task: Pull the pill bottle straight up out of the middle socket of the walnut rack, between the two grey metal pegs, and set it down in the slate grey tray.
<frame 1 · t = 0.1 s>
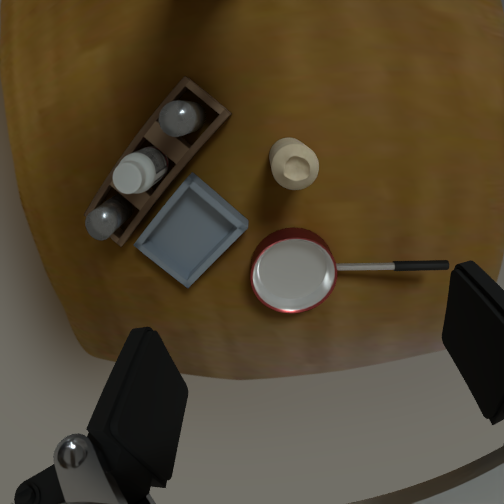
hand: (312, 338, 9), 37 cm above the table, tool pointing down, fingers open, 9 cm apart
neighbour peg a: (190, 116, 40), resting in socket rack
candle: (288, 156, 43), on the table
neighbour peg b: (120, 207, 46), resting in socket rack
pill bottle: (152, 163, 43), resting in socket rack
tray: (191, 228, 48), on the table
frying pan: (348, 253, 49), on the table
socket rack: (152, 163, 43), on the table
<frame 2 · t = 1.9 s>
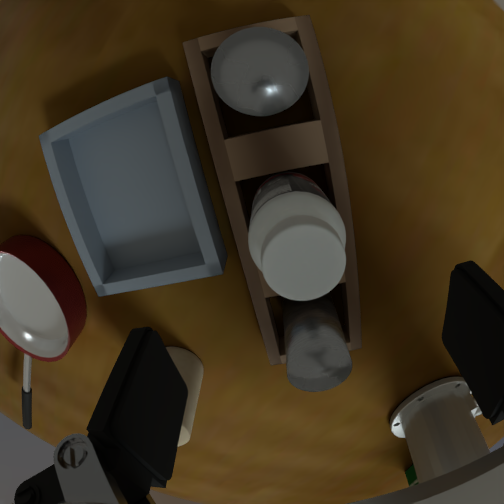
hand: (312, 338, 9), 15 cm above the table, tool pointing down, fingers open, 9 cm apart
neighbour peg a: (307, 304, 27), resting in socket rack
candle: (178, 363, 31), on the table
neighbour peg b: (261, 86, 19), resting in socket rack
pill bottle: (288, 204, 23), resting in socket rack
tray: (137, 189, 23), on the table
frying pan: (44, 345, 32), on the table
socket rack: (288, 205, 23), on the table
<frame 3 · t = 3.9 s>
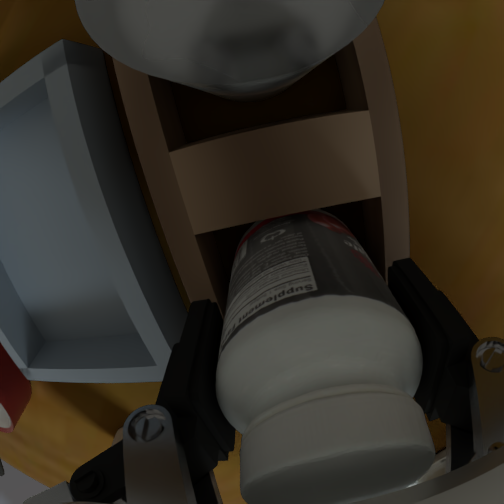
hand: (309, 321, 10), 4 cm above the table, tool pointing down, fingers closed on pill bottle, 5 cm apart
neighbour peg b: (247, 47, 10), resting in socket rack
pill bottle: (296, 260, 13), resting in socket rack, touching gripper
tray: (52, 234, 13), on the table
frying pan: (0, 400, 22), on the table
socket rack: (296, 262, 13), on the table
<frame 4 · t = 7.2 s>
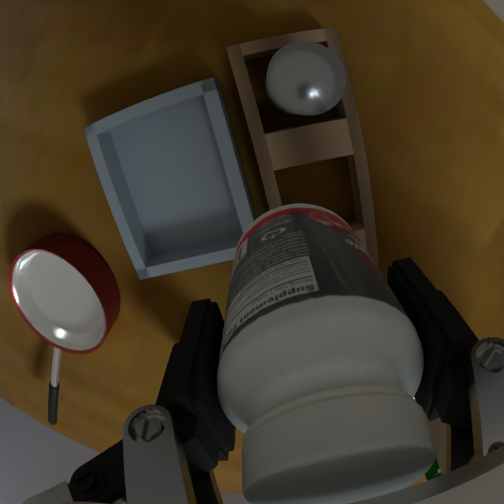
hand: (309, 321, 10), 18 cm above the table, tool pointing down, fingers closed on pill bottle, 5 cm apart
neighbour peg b: (292, 88, 22), resting in socket rack
pill bottle: (296, 257, 13), point 13 cm above the table, touching gripper
tray: (178, 179, 26), on the table
frying pan: (72, 340, 35), on the table
socket rack: (316, 192, 26), on the table
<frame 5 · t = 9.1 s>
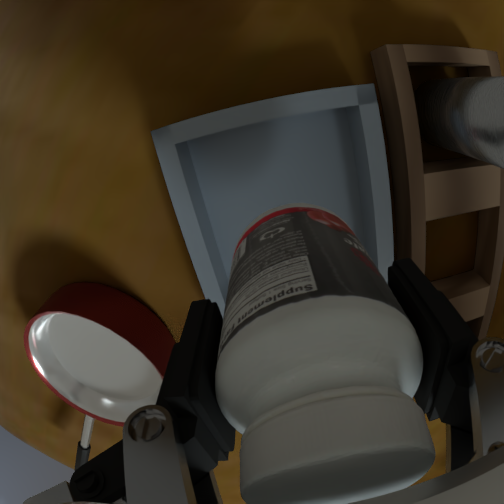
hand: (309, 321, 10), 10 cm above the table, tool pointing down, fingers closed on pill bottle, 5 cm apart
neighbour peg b: (439, 112, 15), resting in socket rack
pill bottle: (295, 257, 13), point 6 cm above the table, touching gripper
tray: (287, 217, 19), on the table
frying pan: (106, 398, 28), on the table
socket rack: (446, 241, 19), on the table
when the fingers open (6 cm above the table, at t = 10.7 s): pill bottle drops 1 cm, resting on tray.
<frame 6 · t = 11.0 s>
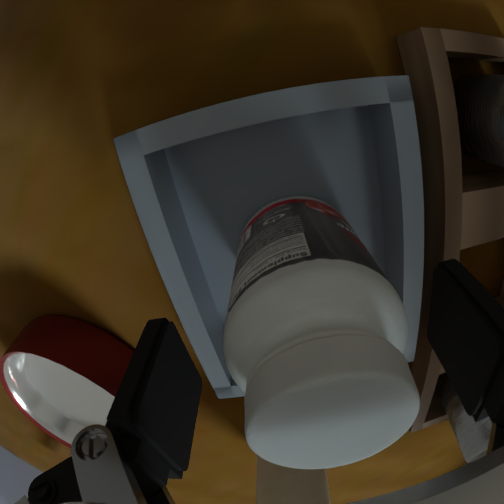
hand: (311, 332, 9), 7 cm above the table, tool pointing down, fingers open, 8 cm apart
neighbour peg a: (453, 365, 19), resting in socket rack
candle: (289, 437, 23), on the table
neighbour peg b: (475, 115, 12), resting in socket rack
pill bottle: (296, 246, 15), resting on tray
tray: (292, 243, 15), on the table
frying pan: (94, 427, 25), on the table
socket rack: (474, 266, 15), on the table
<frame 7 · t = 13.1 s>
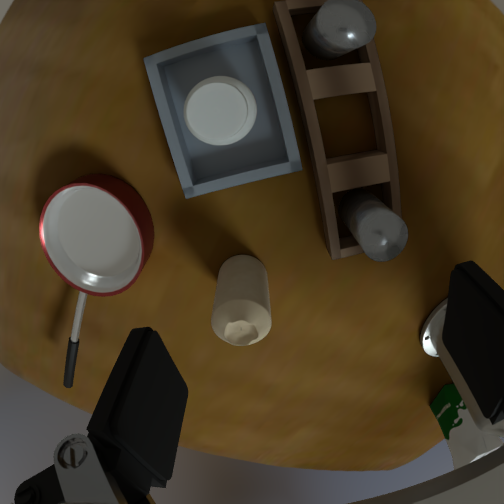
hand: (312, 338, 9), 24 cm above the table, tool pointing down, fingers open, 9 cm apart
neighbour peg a: (357, 207, 32), resting in socket rack
candle: (242, 274, 36), on the table
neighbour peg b: (324, 39, 24), resting in socket rack
pill bottle: (226, 109, 27), resting on tray
milk carton: (448, 392, 50), on the table
tray: (225, 109, 27), on the table
frying pan: (96, 290, 37), on the table
socket rack: (344, 124, 28), on the table
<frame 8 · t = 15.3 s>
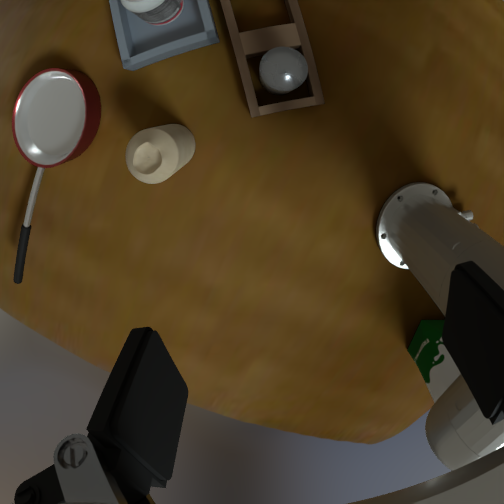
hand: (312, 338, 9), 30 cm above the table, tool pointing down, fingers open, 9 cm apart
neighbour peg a: (278, 77, 32), resting in socket rack
candle: (174, 145, 36), on the table
pill bottle: (163, 8, 27), resting on tray
milk carton: (428, 334, 48), on the table
tray: (163, 8, 28), on the table
frying pan: (52, 179, 37), on the table
socket rack: (260, 10, 28), on the table
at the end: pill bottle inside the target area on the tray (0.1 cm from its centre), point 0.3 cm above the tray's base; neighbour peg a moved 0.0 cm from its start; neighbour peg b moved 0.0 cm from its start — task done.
